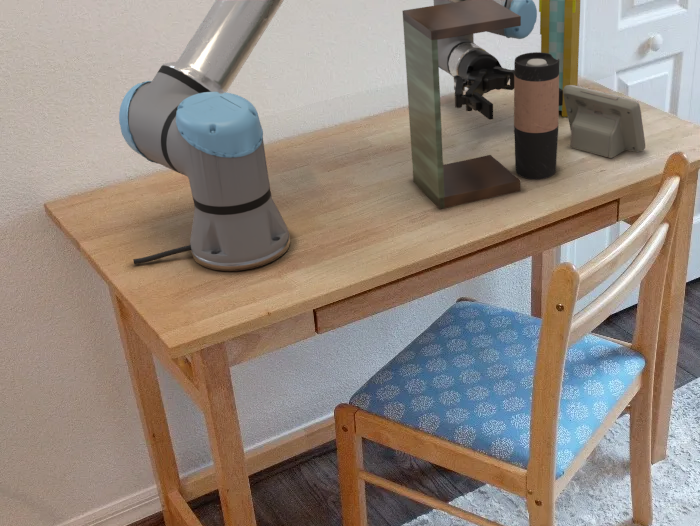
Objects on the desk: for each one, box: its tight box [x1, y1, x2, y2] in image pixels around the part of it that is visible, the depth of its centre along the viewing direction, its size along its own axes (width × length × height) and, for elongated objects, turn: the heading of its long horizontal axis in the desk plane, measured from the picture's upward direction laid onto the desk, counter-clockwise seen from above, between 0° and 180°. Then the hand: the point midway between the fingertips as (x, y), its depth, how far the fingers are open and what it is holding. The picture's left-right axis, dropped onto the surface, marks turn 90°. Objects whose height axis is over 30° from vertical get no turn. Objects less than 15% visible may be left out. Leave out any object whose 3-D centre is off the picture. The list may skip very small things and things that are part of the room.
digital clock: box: [563, 85, 646, 159], centre depth 183 cm, size 16×9×11 cm, turn 39°
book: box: [538, 0, 581, 118], centre depth 198 cm, size 17×7×25 cm, turn 168°
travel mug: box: [513, 51, 560, 180], centre depth 172 cm, size 8×8×20 cm
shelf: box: [402, 0, 521, 210], centre depth 165 cm, size 15×12×30 cm
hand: (526, 105), depth 175 cm, fingers open, 13 cm apart
